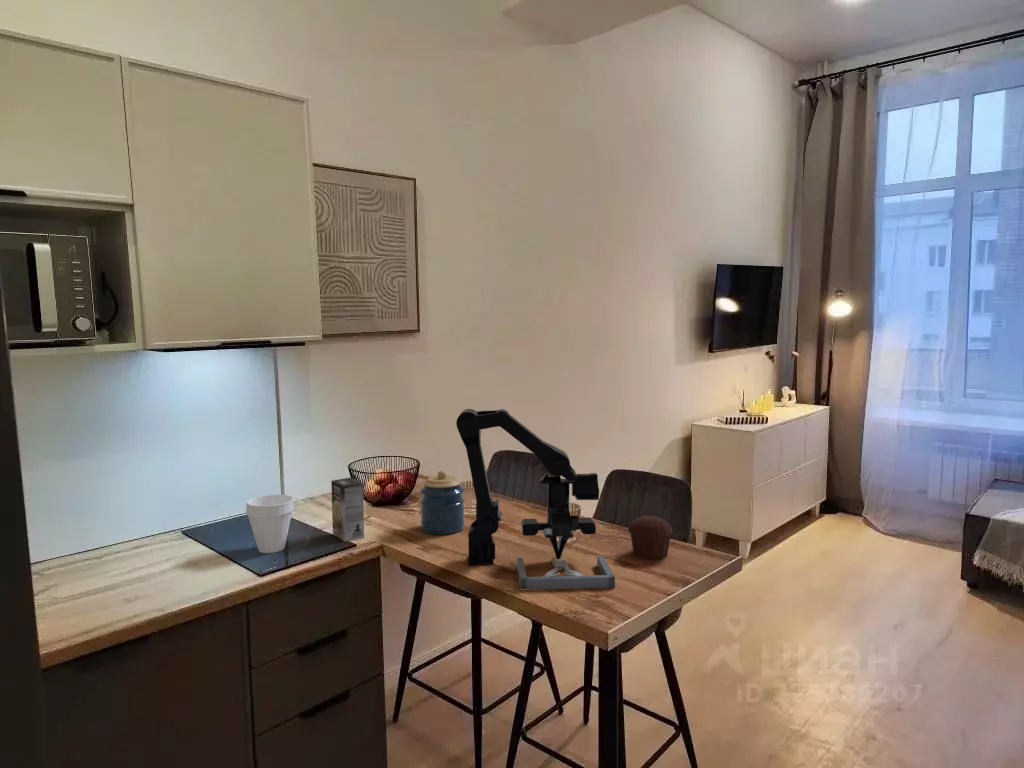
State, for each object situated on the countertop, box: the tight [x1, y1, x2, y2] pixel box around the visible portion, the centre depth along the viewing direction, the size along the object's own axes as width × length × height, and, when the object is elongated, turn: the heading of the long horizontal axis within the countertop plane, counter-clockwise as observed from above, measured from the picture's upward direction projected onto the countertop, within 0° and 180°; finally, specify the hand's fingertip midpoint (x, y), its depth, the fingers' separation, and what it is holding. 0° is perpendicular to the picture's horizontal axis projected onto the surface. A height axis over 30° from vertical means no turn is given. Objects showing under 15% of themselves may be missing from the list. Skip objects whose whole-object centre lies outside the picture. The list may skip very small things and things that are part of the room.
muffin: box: [627, 515, 673, 561], centre depth 182 cm, size 12×11×10 cm
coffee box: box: [331, 477, 365, 543], centre depth 198 cm, size 9×6×16 cm
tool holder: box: [516, 555, 616, 590], centre depth 166 cm, size 22×14×2 cm, turn 93°
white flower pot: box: [245, 494, 295, 554], centre depth 187 cm, size 12×12×14 cm
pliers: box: [543, 557, 584, 577], centre depth 169 cm, size 10×2×15 cm
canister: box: [419, 470, 465, 536], centre depth 204 cm, size 13×13×18 cm
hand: (558, 558), depth 178 cm, fingers closed
